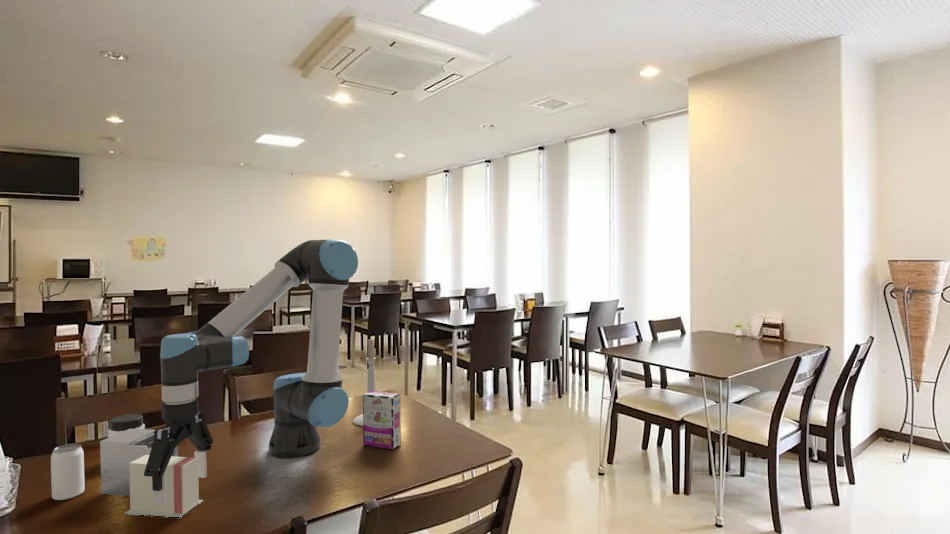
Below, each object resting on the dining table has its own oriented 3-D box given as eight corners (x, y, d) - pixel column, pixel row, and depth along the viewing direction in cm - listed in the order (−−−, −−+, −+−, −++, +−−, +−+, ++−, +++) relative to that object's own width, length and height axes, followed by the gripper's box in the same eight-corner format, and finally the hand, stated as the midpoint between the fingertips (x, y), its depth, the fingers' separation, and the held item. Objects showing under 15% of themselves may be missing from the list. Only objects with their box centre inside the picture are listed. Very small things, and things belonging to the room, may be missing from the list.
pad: (203, 501, 126) (203, 499, 126) (180, 518, 118) (180, 516, 118) (150, 498, 127) (150, 496, 127) (124, 514, 120) (124, 512, 120)
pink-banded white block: (199, 502, 124) (198, 457, 124) (184, 513, 119) (183, 466, 119) (146, 499, 126) (145, 454, 126) (130, 509, 121) (129, 462, 121)
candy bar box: (401, 445, 162) (401, 393, 162) (393, 450, 158) (392, 397, 157) (371, 440, 166) (371, 390, 166) (362, 445, 162) (362, 393, 161)
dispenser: (101, 494, 130) (100, 441, 129) (131, 478, 139) (129, 428, 139) (151, 497, 128) (150, 443, 127) (178, 480, 137) (177, 430, 137)
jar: (108, 466, 147) (107, 424, 146) (109, 456, 154) (108, 417, 153) (145, 459, 152) (144, 418, 151) (145, 450, 158) (144, 411, 158)
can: (63, 489, 132) (62, 443, 132) (90, 488, 133) (89, 442, 133) (45, 501, 126) (43, 453, 126) (73, 500, 126) (72, 452, 126)
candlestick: (384, 427, 178) (384, 341, 178) (348, 427, 179) (347, 341, 178) (392, 416, 191) (392, 335, 190) (359, 415, 192) (358, 335, 191)
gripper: (200, 386, 134) (201, 466, 135) (123, 416, 109) (125, 514, 110) (227, 387, 133) (228, 468, 134) (155, 417, 108) (157, 517, 109)
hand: (181, 489), depth 122 cm, fingers open, 13 cm apart
